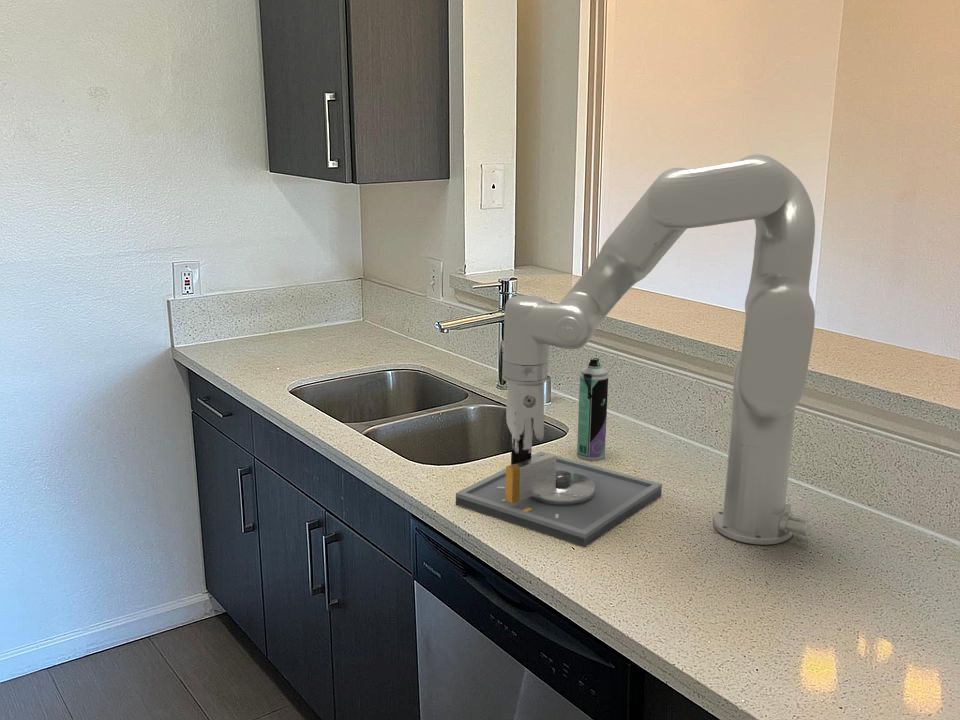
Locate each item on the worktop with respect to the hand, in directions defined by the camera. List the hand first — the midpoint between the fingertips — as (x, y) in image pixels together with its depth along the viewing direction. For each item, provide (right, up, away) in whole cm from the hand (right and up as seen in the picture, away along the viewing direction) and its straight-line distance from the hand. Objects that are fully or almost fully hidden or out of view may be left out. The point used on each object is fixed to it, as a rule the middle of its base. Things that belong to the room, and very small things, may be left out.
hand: (520, 472), depth 158 cm
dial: (+5, -4, +1) cm, 6 cm away
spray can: (+15, 0, +24) cm, 29 cm away
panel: (+7, -5, +3) cm, 9 cm away
